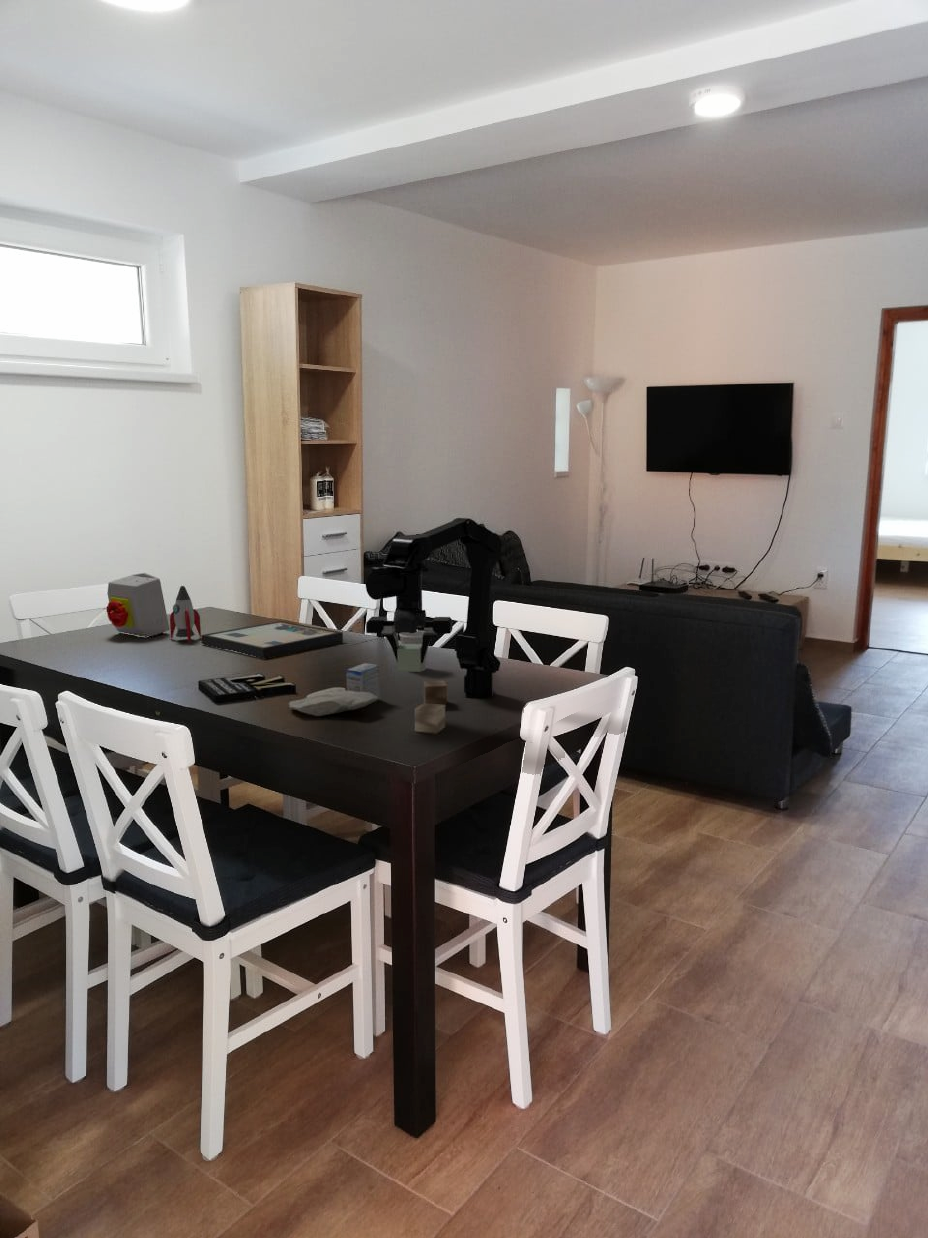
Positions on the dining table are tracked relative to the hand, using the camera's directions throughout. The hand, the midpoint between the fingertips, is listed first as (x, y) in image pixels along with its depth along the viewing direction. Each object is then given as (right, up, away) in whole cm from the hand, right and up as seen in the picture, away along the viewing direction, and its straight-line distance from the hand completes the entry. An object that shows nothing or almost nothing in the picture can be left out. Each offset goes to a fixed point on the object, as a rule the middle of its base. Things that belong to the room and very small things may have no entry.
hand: (410, 662), depth 210 cm
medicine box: (-12, -10, +13) cm, 20 cm away
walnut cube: (+5, -10, +11) cm, 16 cm away
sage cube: (0, -1, 0) cm, 1 cm away
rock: (-19, -12, +5) cm, 23 cm away
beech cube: (+5, -14, -8) cm, 17 cm away
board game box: (-47, +1, +79) cm, 92 cm away
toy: (-75, +3, +85) cm, 113 cm away
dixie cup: (-1, -4, +45) cm, 45 cm away
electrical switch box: (-94, +4, +92) cm, 132 cm away
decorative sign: (-42, -9, +24) cm, 49 cm away
